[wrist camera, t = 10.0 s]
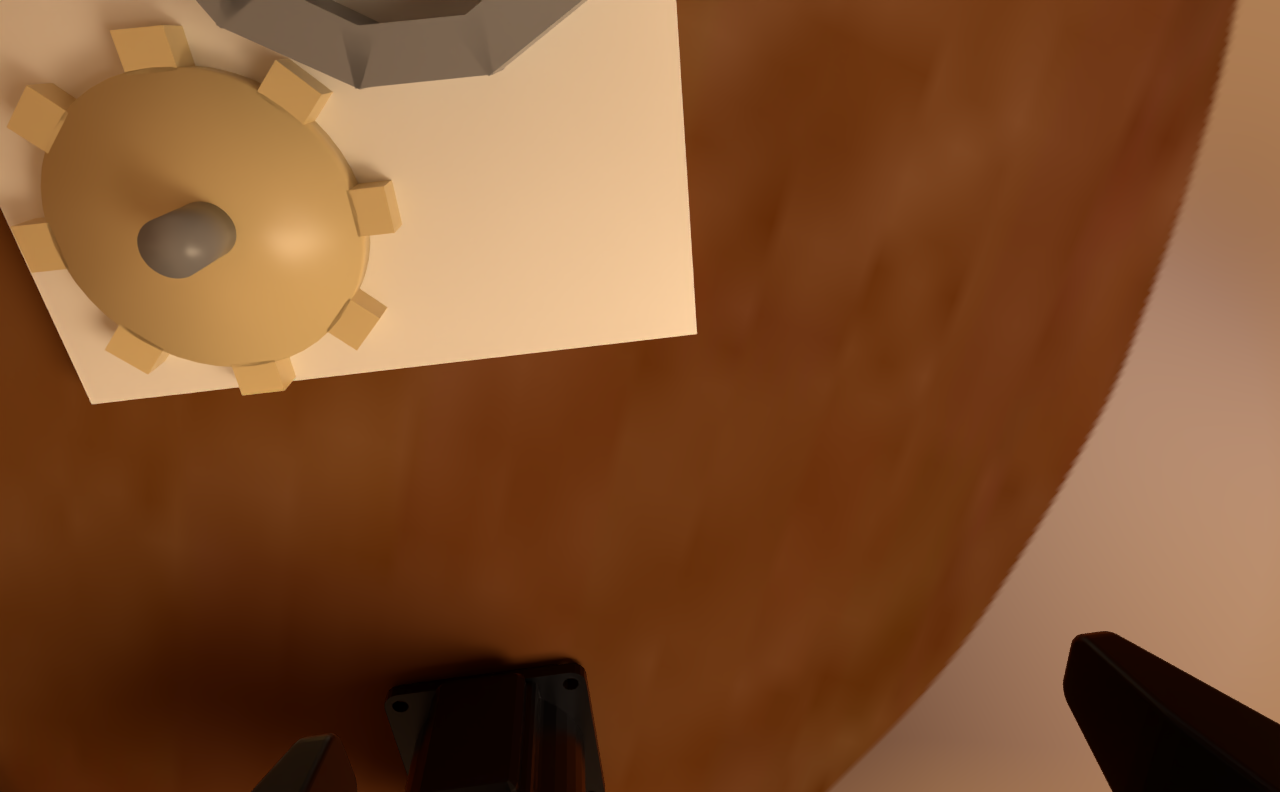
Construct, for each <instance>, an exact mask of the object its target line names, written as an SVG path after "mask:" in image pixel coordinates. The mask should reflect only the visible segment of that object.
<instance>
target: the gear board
mask: <svg viewBox="0 0 1280 792" xmlns="http://www.w3.org/2000/svg"><path fill="white" fill-rule="evenodd" d="M0 208H1V210H2V212H3V214H4V216H5V219H6V221H7V223H8V225H9V227H10V229H11V232H12V234H13V236H14V238H15V240H16V242H17V244H18V247H19V249H20V251H21V253H22V255H23V257H24V260H25V262H26V264H27V266H28V268H29V270H30V272H31V275H32V277H33V279H34V281H35V283H36V285H37V287H38V290H39V292H40V294H41V296H42V298H43V300H44V303H45V305H46V307H47V309H48V311H49V313H50V315H51V318H52V320H53V322H54V324H55V326H56V328H57V331H58V333H59V335H60V337H61V339H62V341H63V343H64V346H65V348H66V350H67V352H68V354H69V356H70V359H71V361H72V363H73V365H74V367H75V369H76V371H77V374H78V376H79V378H80V380H81V382H82V384H83V386H84V389H85V391H86V393H87V395H88V397H89V399H90V402H91V404H98V403H107V402H116V401H124V400H133V399H141V398H150V397H159V396H167V395H176V394H184V393H193V392H202V391H210V390H219V389H227V388H236V387H239V388H240V391H241V393H242V395H250V394H259V393H268V392H276V391H285V390H286V388H287V387H288V386H289V385H290V383H291V382H292V381H296V380H305V379H313V378H322V377H331V376H339V375H348V374H356V373H365V372H374V371H382V370H391V369H399V368H408V367H417V366H425V365H434V364H442V363H451V362H460V361H468V360H477V359H485V358H494V357H503V356H511V355H520V354H528V353H537V352H546V351H554V350H563V349H571V348H580V347H589V346H597V345H606V344H614V343H623V342H632V341H640V340H649V339H657V338H666V337H675V336H683V335H692V334H697V328H696V312H695V296H694V280H693V264H692V248H691V232H690V216H689V200H688V184H687V168H686V151H685V135H684V119H683V103H682V87H681V71H680V55H679V39H678V23H677V7H676V0H0Z"/></svg>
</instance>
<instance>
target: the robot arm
mask: <svg viewBox="0 0 1280 792" xmlns="http://www.w3.org/2000/svg"><path fill="white" fill-rule="evenodd" d="M569 678H574V680H567V679H569ZM1063 690H1064V695H1065V698H1066V701H1067V703H1068V705H1069V707H1070V709H1071V711H1072V713H1073V715H1074V717H1075V719H1076V721H1077V723H1078V725H1079V727H1080V729H1081V731H1082V733H1083V734H1084V737H1085V739H1086V741H1087V743H1088V745H1089V746H1090V749H1091V751H1092V752H1093V755H1094V756H1095V758H1096V760H1097V762H1098V764H1099V766H1100V768H1101V770H1102V772H1103V774H1104V776H1105V778H1106V780H1107V782H1108V784H1109V786H1110V788H1111V790H1112V792H1280V724H1278V723H1277V722H1275V721H1273V720H1271V719H1269V718H1267V717H1265V716H1264V715H1262V714H1260V713H1258V712H1257V711H1255V710H1253V709H1251V708H1249V707H1248V706H1246V705H1244V704H1242V703H1240V702H1239V701H1237V700H1235V699H1233V698H1231V697H1230V696H1228V695H1226V694H1224V693H1222V692H1220V691H1219V690H1217V689H1215V688H1213V687H1211V686H1210V685H1208V684H1206V683H1204V682H1202V681H1201V680H1199V679H1197V678H1195V677H1193V676H1192V675H1190V674H1188V673H1186V672H1184V671H1183V670H1180V669H1179V668H1177V667H1175V666H1174V665H1172V664H1170V663H1168V662H1166V661H1164V660H1163V659H1161V658H1159V657H1157V656H1155V655H1154V654H1152V653H1150V652H1148V651H1146V650H1145V649H1143V648H1141V647H1139V646H1137V645H1136V644H1134V643H1132V642H1130V641H1128V640H1126V639H1125V638H1122V637H1121V636H1119V635H1117V634H1115V633H1112V632H1108V631H1101V632H1093V633H1087V634H1080V635H1077V636H1076V637H1075V638H1074V639H1073V640H1072V643H1071V648H1070V652H1069V657H1068V661H1067V666H1066V670H1065V675H1064V680H1063ZM399 701H404V702H399ZM385 711H386V713H387V716H388V719H389V722H390V725H391V728H392V731H393V734H394V737H395V740H396V743H397V746H398V749H399V752H400V755H401V758H402V761H403V764H404V766H405V769H406V772H407V775H408V778H407V783H406V787H405V792H605V783H604V777H603V771H602V765H601V759H600V753H599V747H598V741H597V735H596V729H595V723H594V717H593V711H592V705H591V700H590V694H589V688H588V682H587V676H586V672H585V669H584V668H583V667H582V666H580V665H578V664H575V663H568V664H560V665H553V666H545V667H537V668H530V669H522V670H514V671H507V672H499V673H491V674H484V675H476V676H468V677H461V678H453V679H445V680H438V681H430V682H422V683H415V684H407V685H399V686H396V687H393V688H392V689H391V690H389V692H388V694H387V697H386V701H385ZM251 792H357V784H356V779H355V775H354V773H353V770H352V767H351V765H350V762H349V760H348V757H347V754H346V752H345V749H344V747H343V744H342V741H341V740H340V738H339V736H337V735H336V734H334V733H327V734H320V735H312V736H306V737H303V738H301V739H299V740H298V741H297V742H296V743H295V744H294V745H293V746H292V747H291V748H290V749H289V750H288V751H287V752H286V753H285V755H284V756H283V757H282V758H281V759H280V760H279V761H278V762H277V763H276V765H275V766H274V767H273V768H272V769H271V770H270V771H269V772H268V773H267V775H266V776H265V777H264V778H263V779H262V780H261V781H260V782H259V783H258V784H257V786H256V787H255V788H254V789H253V790H252V791H251Z"/></svg>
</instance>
